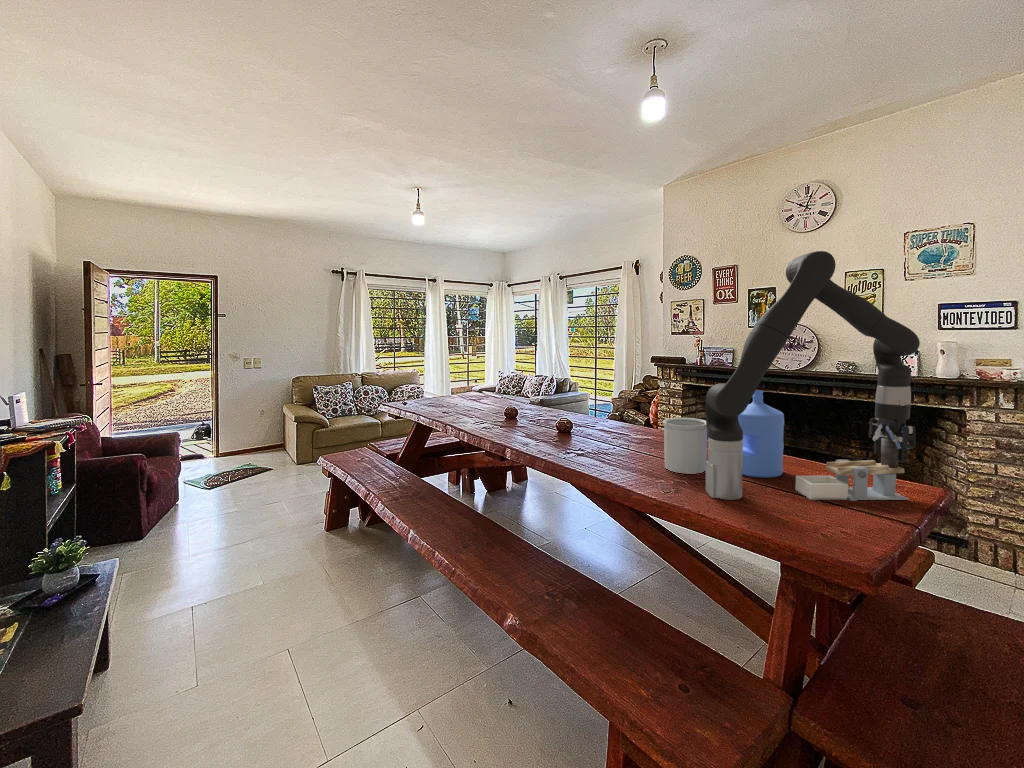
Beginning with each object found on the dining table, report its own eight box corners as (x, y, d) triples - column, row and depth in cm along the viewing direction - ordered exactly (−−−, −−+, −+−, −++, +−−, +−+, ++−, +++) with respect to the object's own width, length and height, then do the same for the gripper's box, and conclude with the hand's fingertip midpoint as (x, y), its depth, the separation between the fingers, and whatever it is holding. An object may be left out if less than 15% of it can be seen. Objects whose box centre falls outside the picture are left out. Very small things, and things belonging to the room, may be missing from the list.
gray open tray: (810, 499, 125) (811, 484, 125) (795, 490, 133) (795, 475, 133) (847, 499, 124) (848, 484, 124) (829, 490, 132) (830, 475, 132)
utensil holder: (715, 475, 150) (715, 424, 148) (671, 476, 150) (671, 425, 149) (697, 463, 165) (698, 417, 163) (657, 464, 165) (657, 418, 163)
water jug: (769, 465, 159) (771, 388, 156) (792, 478, 144) (794, 393, 141) (724, 465, 161) (725, 389, 158) (742, 478, 145) (743, 394, 143)
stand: (850, 500, 123) (852, 468, 122) (829, 489, 133) (830, 459, 132) (908, 500, 122) (910, 468, 121) (883, 489, 131) (884, 459, 131)
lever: (839, 475, 125) (839, 443, 124) (826, 469, 131) (825, 438, 130) (904, 473, 123) (904, 440, 122) (888, 466, 129) (888, 435, 128)
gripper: (861, 398, 132) (858, 451, 133) (897, 405, 118) (894, 464, 119) (888, 398, 131) (885, 451, 132) (928, 405, 117) (924, 464, 118)
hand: (889, 457), depth 126 cm, fingers open, 8 cm apart
